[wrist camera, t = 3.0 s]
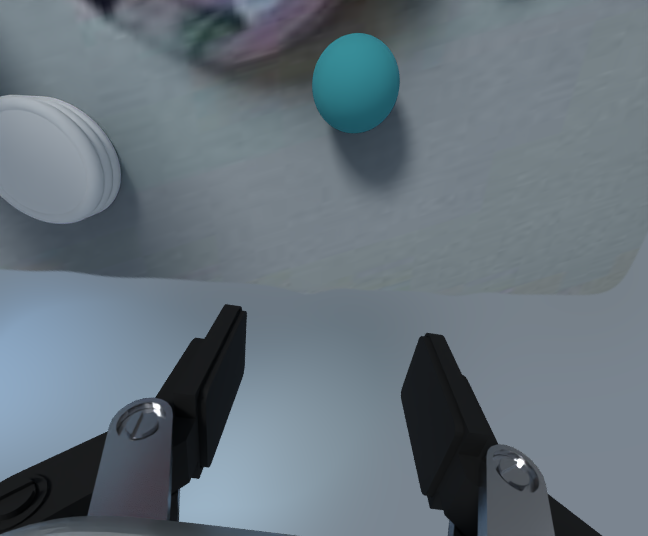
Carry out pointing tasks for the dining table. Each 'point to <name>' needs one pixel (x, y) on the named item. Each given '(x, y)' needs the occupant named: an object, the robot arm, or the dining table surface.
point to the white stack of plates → (55, 160)
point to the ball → (355, 83)
